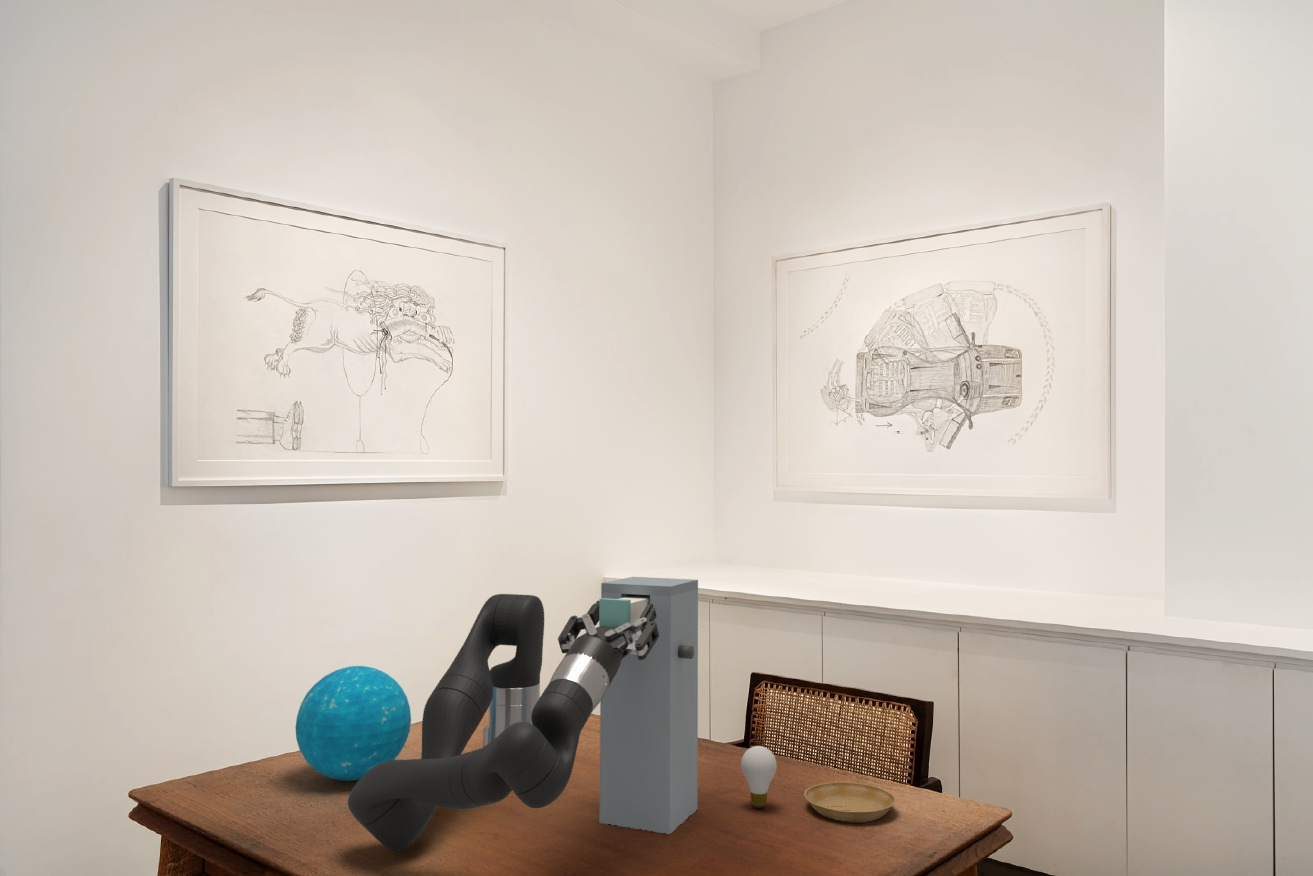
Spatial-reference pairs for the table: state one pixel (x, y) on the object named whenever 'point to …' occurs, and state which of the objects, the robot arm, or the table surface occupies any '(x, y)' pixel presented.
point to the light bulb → (758, 772)
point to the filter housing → (653, 715)
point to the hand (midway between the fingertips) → (626, 606)
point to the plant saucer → (850, 801)
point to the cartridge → (621, 610)
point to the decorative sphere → (352, 722)
